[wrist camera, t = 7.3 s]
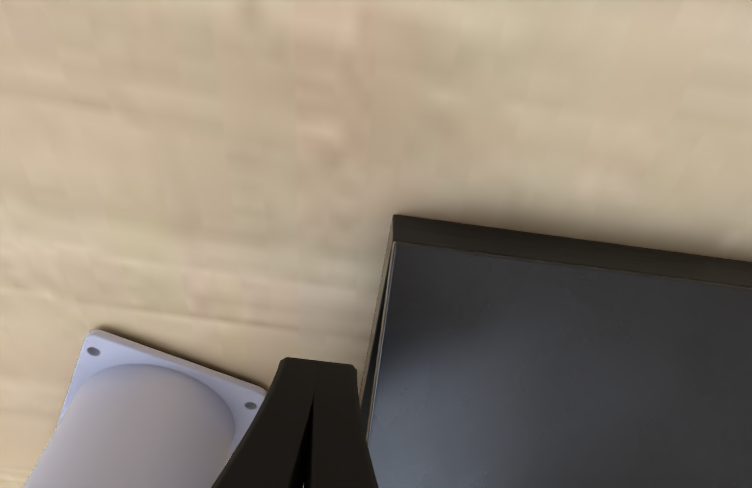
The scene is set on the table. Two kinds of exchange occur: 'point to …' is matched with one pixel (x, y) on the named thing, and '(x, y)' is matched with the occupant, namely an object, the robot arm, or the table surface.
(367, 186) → the table surface
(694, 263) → the laptop
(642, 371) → the laptop screen
